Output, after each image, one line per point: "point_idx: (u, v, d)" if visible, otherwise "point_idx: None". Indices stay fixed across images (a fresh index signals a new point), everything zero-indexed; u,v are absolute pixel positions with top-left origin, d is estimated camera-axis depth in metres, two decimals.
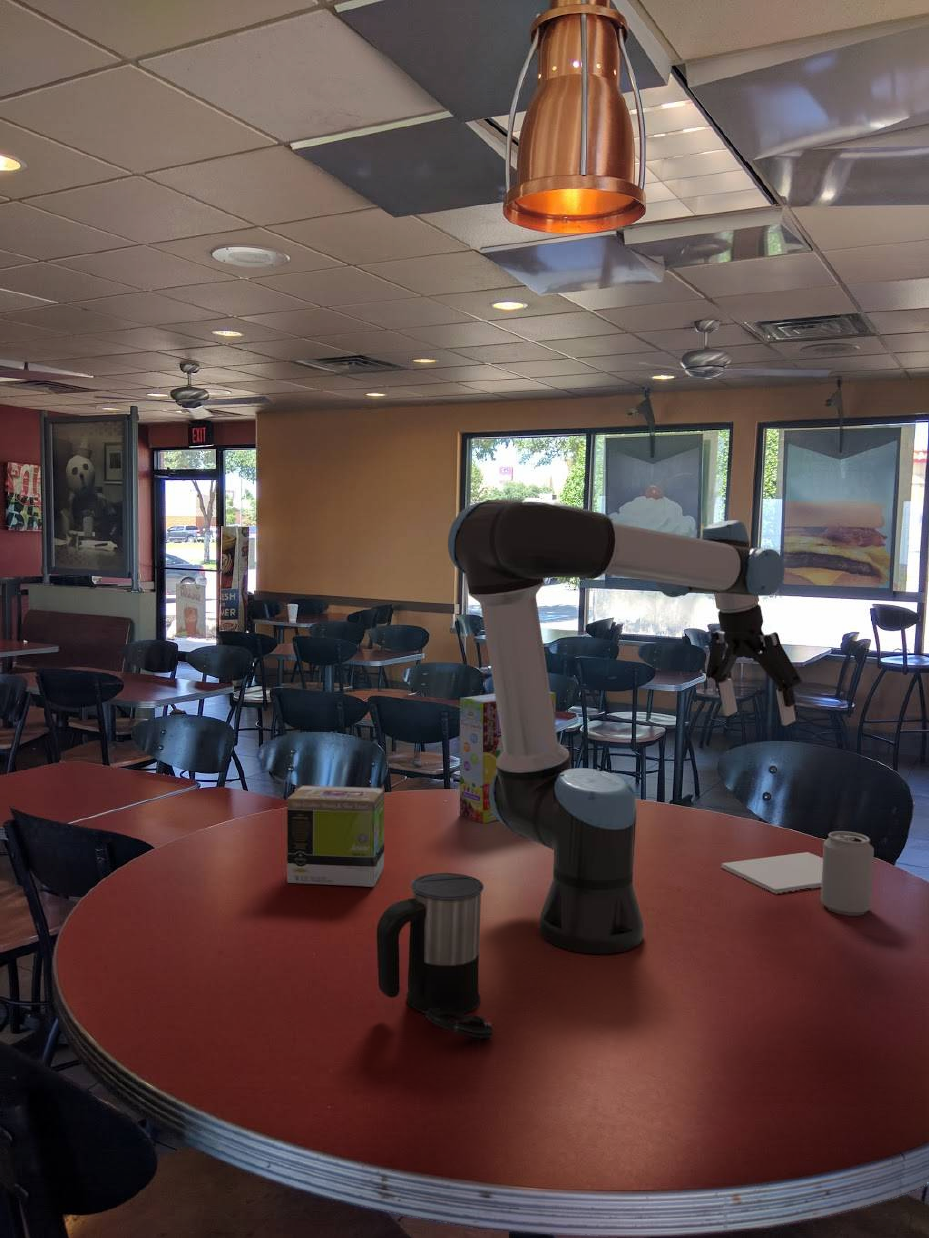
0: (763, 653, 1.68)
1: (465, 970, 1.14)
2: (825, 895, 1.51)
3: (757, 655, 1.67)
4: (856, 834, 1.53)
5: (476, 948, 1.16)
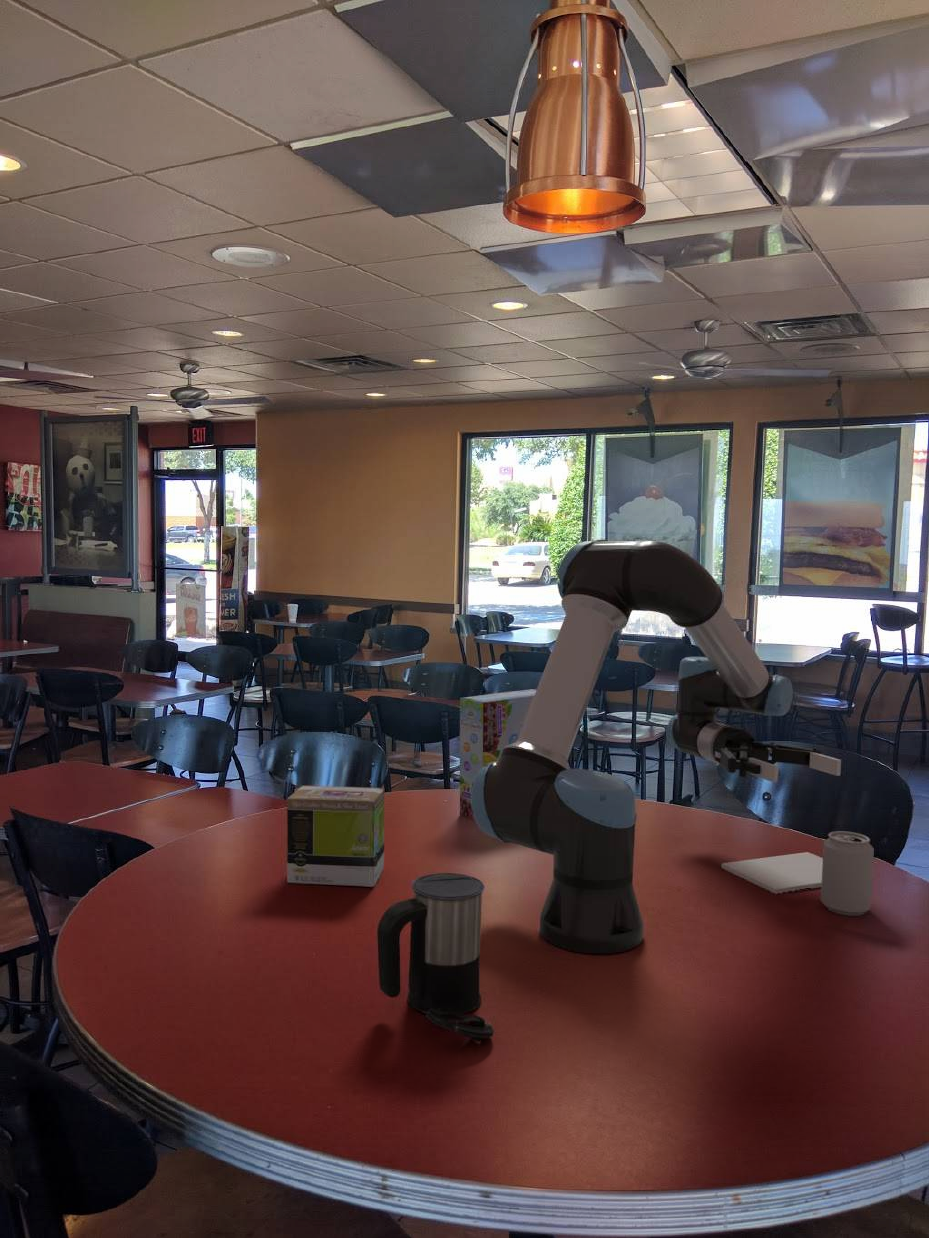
0: None
1: (466, 971, 1.14)
2: (825, 896, 1.51)
3: None
4: (856, 834, 1.53)
5: (477, 948, 1.16)
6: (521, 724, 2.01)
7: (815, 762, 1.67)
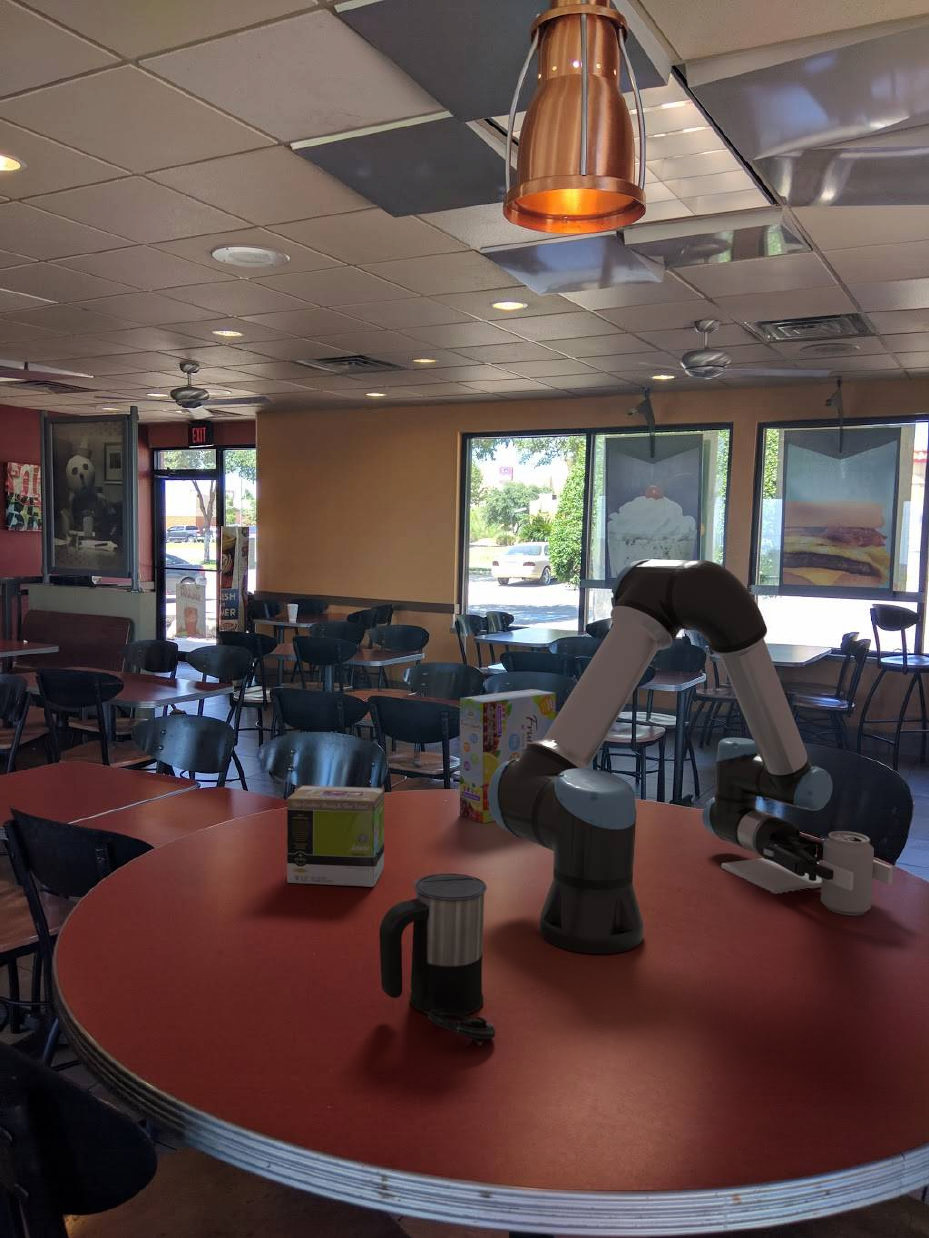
0: None
1: (468, 971, 1.14)
2: (825, 895, 1.51)
3: None
4: (856, 834, 1.53)
5: (479, 949, 1.16)
6: (521, 724, 2.01)
7: None
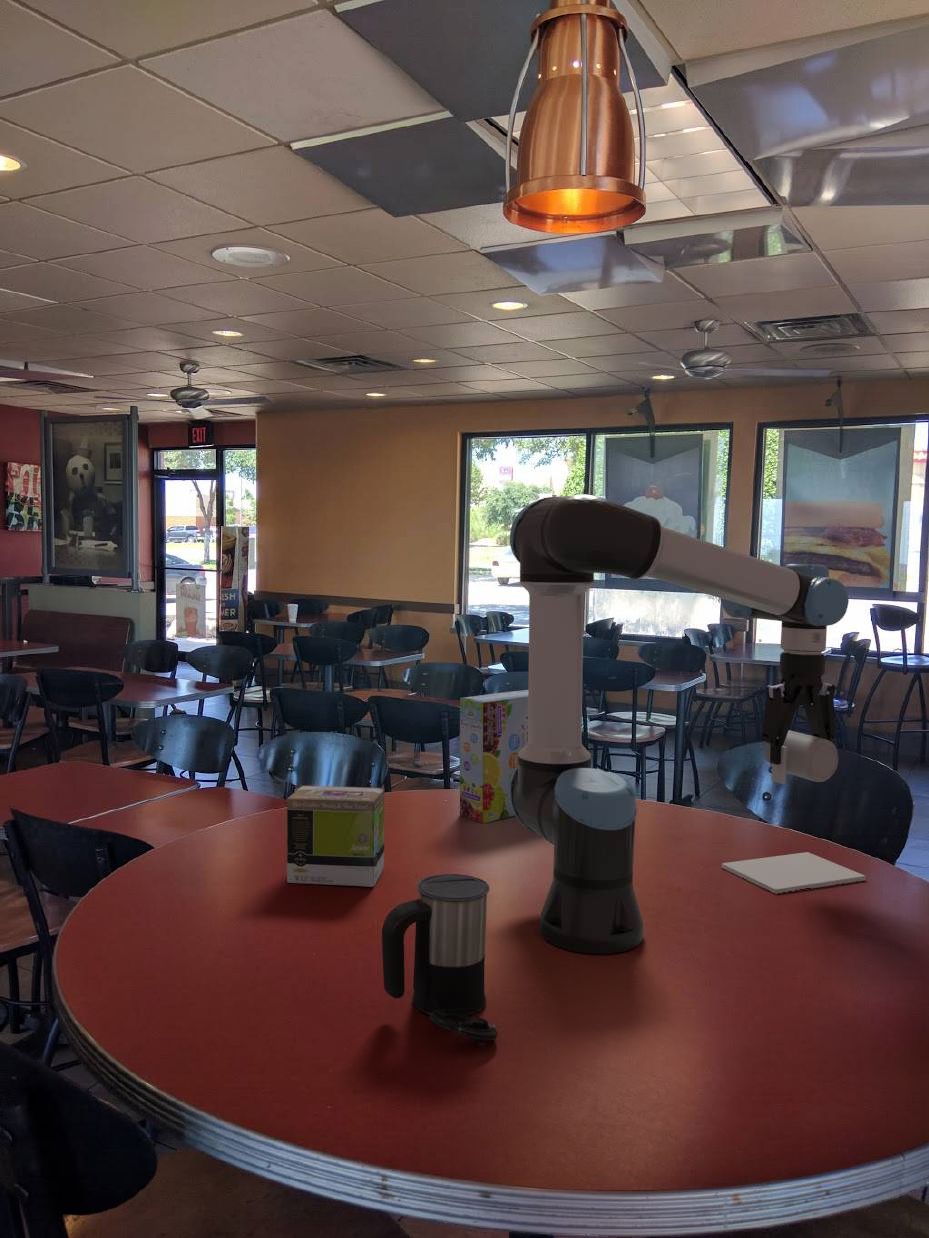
0: (786, 704, 1.65)
1: (471, 972, 1.14)
2: None
3: None
4: None
5: (482, 950, 1.15)
6: (521, 724, 2.01)
7: None
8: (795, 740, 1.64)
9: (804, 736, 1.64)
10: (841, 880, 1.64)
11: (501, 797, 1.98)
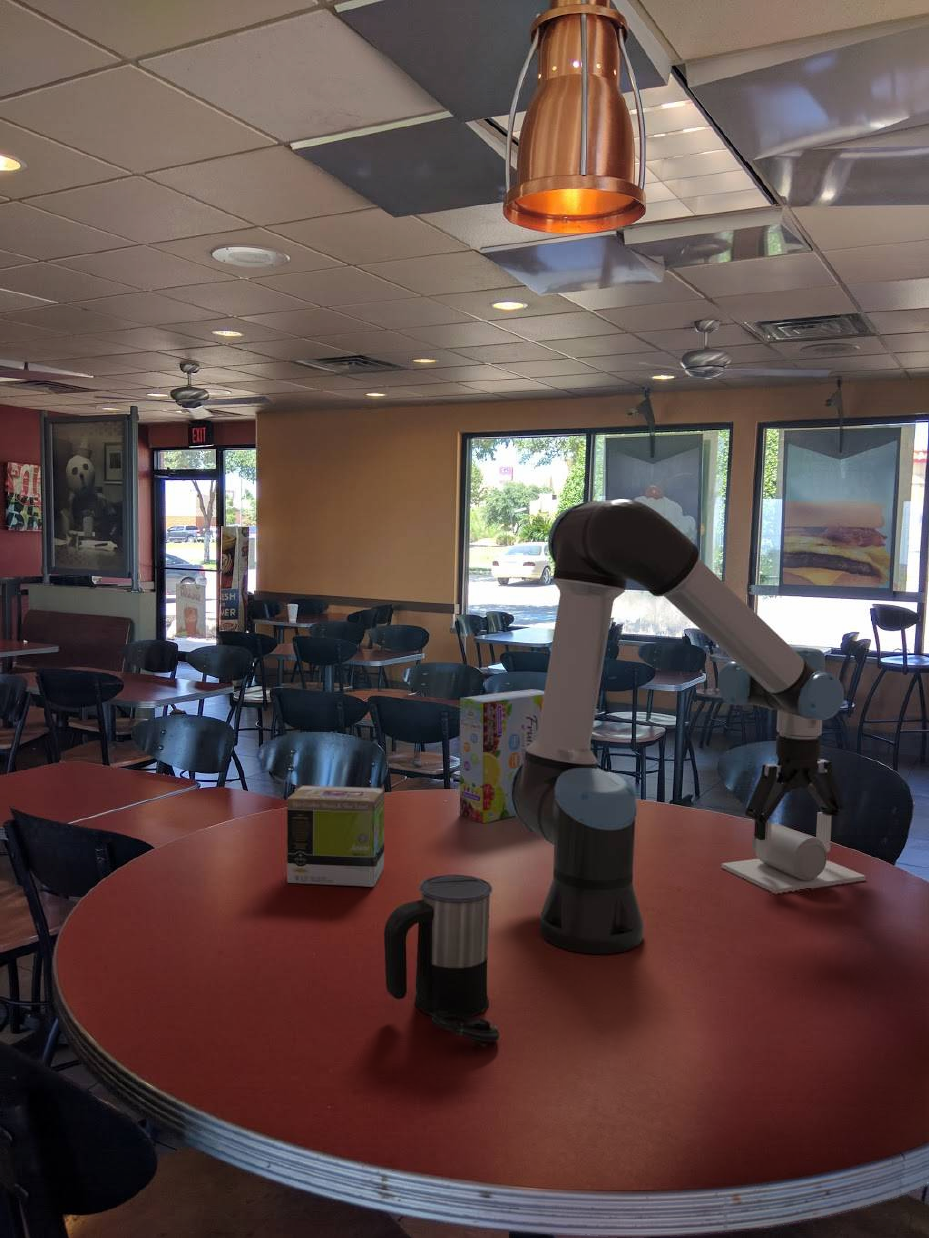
0: (779, 784, 1.66)
1: (473, 973, 1.14)
2: None
3: None
4: (754, 844, 1.71)
5: (484, 951, 1.15)
6: (521, 724, 2.01)
7: None
8: (779, 845, 1.65)
9: (786, 838, 1.64)
10: (841, 880, 1.64)
11: (501, 797, 1.98)
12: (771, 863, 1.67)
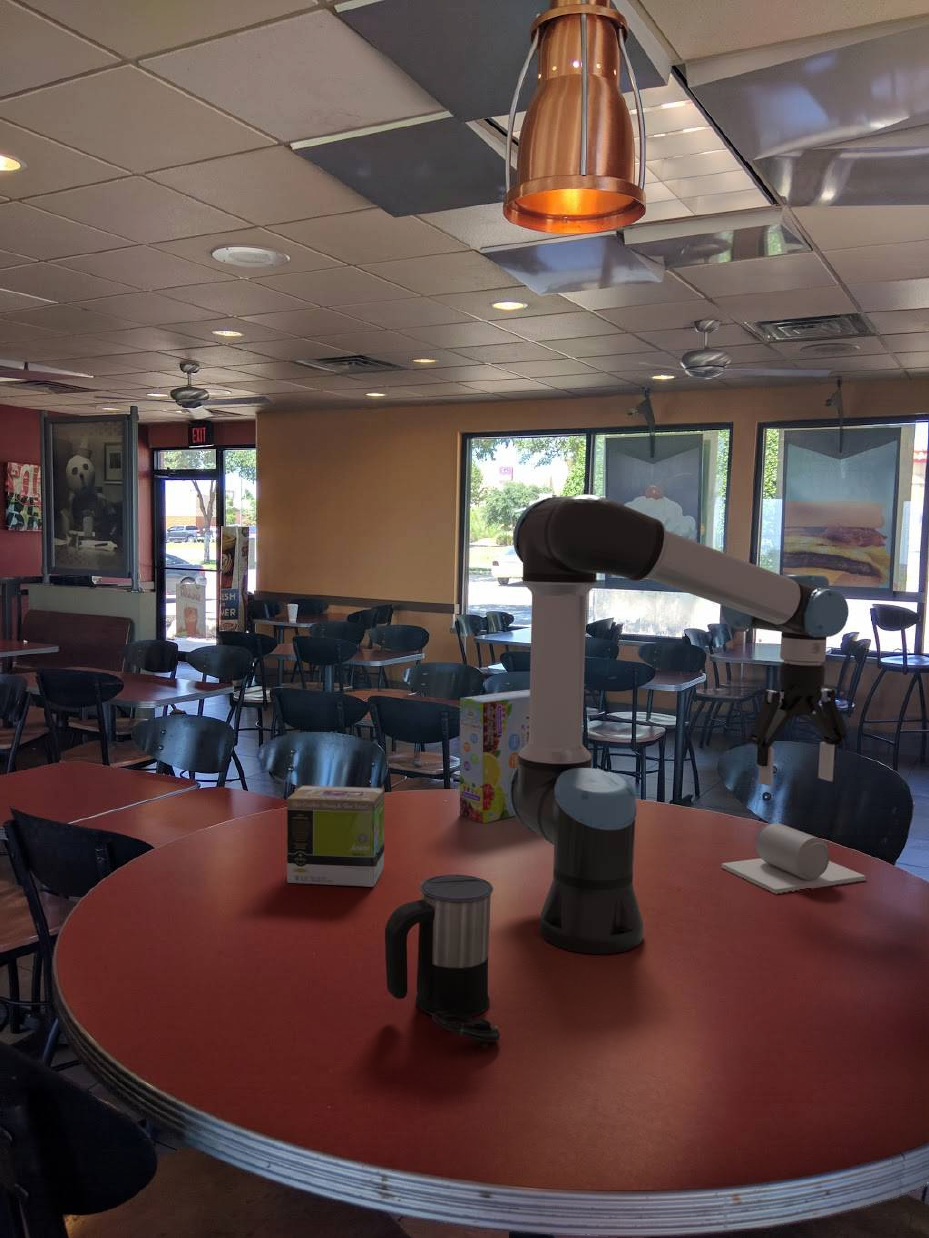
0: (782, 711, 1.65)
1: (474, 973, 1.14)
2: None
3: (777, 709, 1.66)
4: None
5: (485, 951, 1.15)
6: (521, 724, 2.01)
7: None
8: (783, 841, 1.65)
9: (791, 836, 1.65)
10: (841, 880, 1.64)
11: (501, 797, 1.98)
12: (772, 861, 1.67)
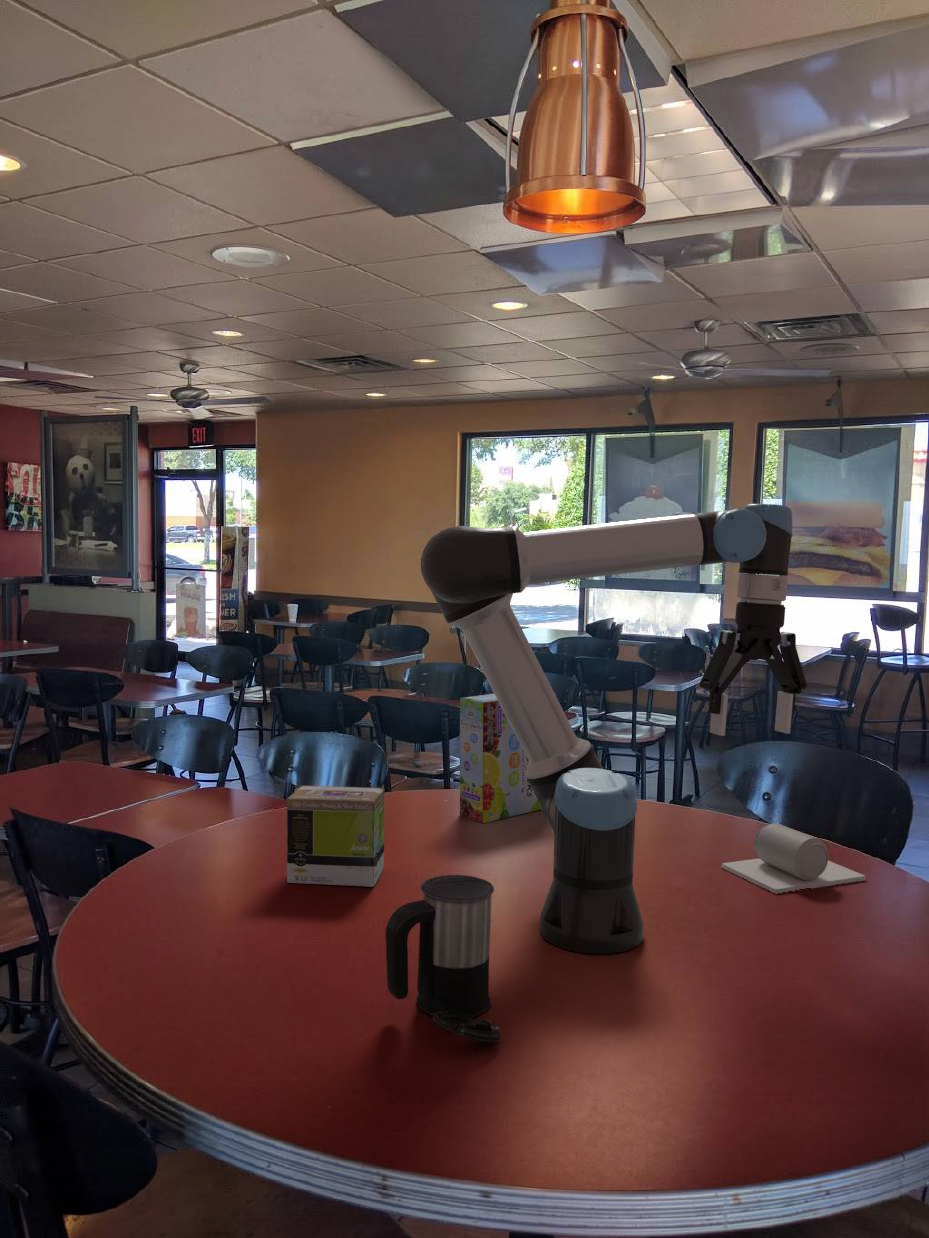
0: (738, 654, 1.50)
1: (475, 974, 1.14)
2: None
3: (732, 652, 1.51)
4: None
5: (486, 951, 1.15)
6: None
7: None
8: (781, 843, 1.65)
9: (789, 837, 1.65)
10: (841, 880, 1.64)
11: (501, 797, 1.98)
12: (772, 862, 1.67)
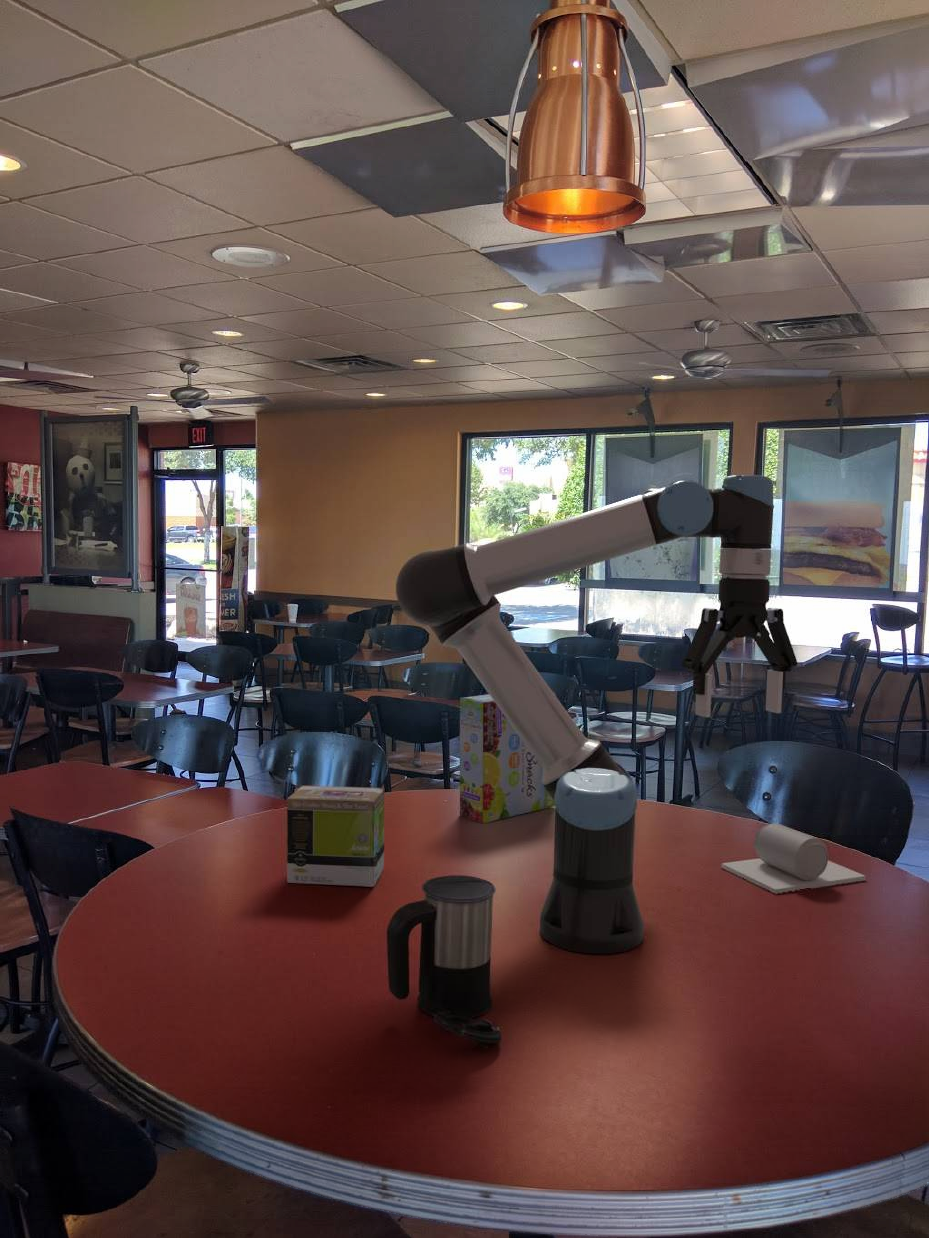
0: (722, 632, 1.45)
1: (476, 974, 1.13)
2: None
3: (716, 631, 1.46)
4: None
5: (487, 952, 1.15)
6: None
7: None
8: (781, 843, 1.65)
9: (789, 837, 1.65)
10: (841, 880, 1.64)
11: (501, 797, 1.98)
12: (772, 862, 1.67)
